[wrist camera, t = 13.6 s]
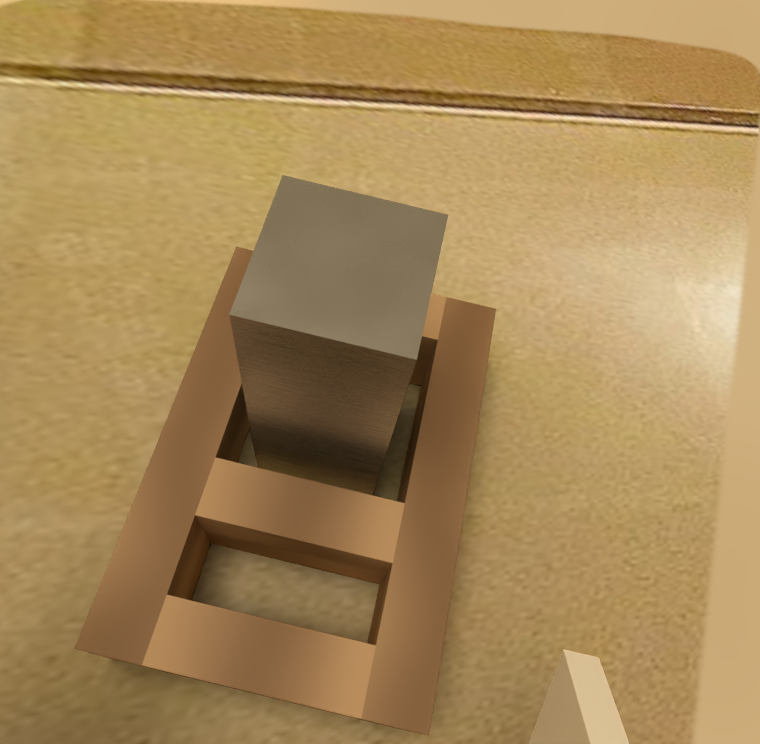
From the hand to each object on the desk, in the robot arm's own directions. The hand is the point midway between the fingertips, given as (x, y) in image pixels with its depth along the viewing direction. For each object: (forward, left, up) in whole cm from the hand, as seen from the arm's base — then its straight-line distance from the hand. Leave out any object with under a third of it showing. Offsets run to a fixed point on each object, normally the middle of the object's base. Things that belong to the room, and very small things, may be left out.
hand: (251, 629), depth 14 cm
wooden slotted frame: (0, +6, -10) cm, 12 cm away
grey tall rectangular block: (0, +9, -10) cm, 13 cm away
